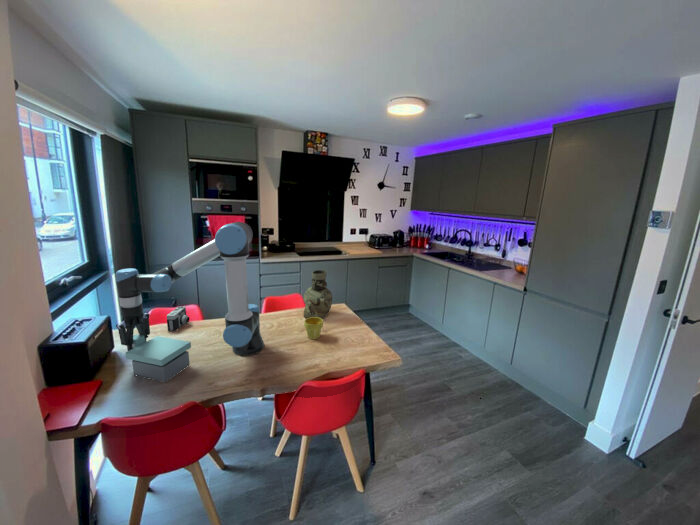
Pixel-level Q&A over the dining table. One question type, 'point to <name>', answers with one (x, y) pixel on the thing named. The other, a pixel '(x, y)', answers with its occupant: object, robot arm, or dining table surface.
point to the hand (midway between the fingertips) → (138, 354)
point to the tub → (161, 368)
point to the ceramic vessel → (317, 297)
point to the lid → (156, 349)
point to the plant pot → (313, 327)
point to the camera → (177, 318)
